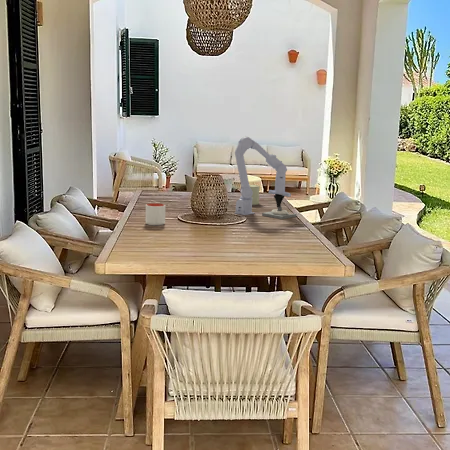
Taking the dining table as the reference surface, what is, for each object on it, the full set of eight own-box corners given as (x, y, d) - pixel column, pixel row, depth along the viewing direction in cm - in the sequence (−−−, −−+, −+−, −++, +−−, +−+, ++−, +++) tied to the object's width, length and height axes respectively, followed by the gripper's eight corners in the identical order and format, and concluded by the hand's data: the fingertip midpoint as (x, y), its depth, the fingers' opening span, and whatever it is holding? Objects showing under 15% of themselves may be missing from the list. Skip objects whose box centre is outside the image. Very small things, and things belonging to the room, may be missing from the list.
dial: (286, 215, 343) (287, 209, 343) (271, 214, 345) (271, 208, 344) (287, 211, 354) (288, 206, 353) (272, 210, 355) (272, 205, 355)
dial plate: (281, 219, 339) (281, 216, 339) (262, 215, 348) (262, 212, 348) (296, 216, 349) (296, 213, 349) (277, 213, 358) (277, 210, 358)
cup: (141, 224, 309) (141, 205, 307) (152, 221, 318) (153, 202, 316) (157, 226, 305) (158, 207, 303) (168, 223, 313) (169, 204, 311)
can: (259, 205, 386) (260, 186, 383) (244, 204, 386) (245, 185, 384) (258, 202, 395) (259, 184, 393) (244, 202, 395) (245, 183, 393)
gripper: (294, 185, 349) (293, 208, 352) (274, 182, 358) (273, 204, 361) (287, 186, 344) (285, 209, 347) (267, 183, 353) (265, 206, 356)
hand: (278, 207), depth 354 cm, fingers closed, pressing on dial
